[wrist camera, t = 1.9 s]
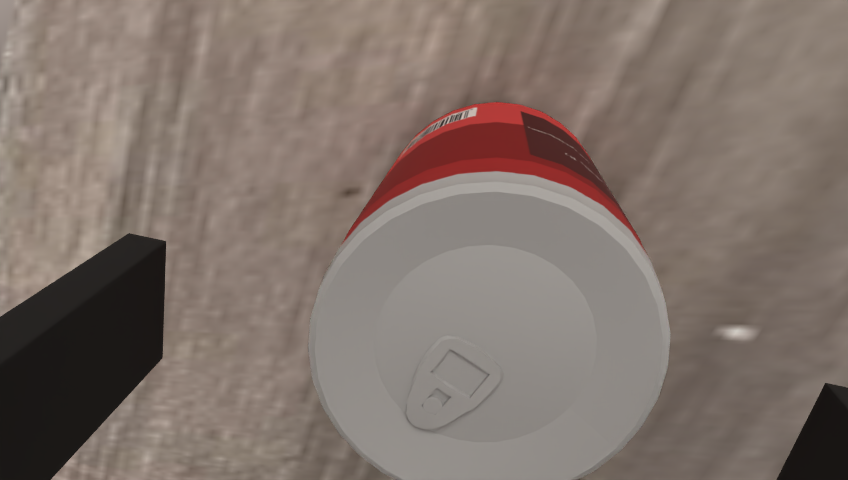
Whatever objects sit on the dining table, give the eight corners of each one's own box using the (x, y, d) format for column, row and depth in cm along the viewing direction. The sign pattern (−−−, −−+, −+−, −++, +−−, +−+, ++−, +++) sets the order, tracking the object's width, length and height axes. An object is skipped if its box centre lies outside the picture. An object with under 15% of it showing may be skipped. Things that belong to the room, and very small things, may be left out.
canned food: (362, 262, 25) (267, 442, 15) (427, 65, 22) (366, 119, 12) (543, 327, 25) (574, 551, 15) (632, 140, 22) (748, 257, 12)
